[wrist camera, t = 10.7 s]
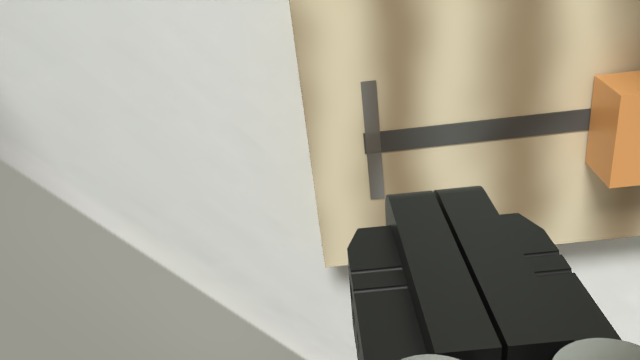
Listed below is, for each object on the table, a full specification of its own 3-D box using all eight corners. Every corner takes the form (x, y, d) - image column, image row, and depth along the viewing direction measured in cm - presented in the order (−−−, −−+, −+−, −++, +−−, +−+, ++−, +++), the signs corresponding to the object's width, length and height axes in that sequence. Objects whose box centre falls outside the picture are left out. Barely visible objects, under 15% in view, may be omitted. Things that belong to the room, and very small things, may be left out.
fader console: (324, 239, 39) (325, 268, 36) (290, -12, 32) (288, 0, 29) (667, 204, 38) (695, 231, 36) (717, -63, 31) (756, -56, 28)
